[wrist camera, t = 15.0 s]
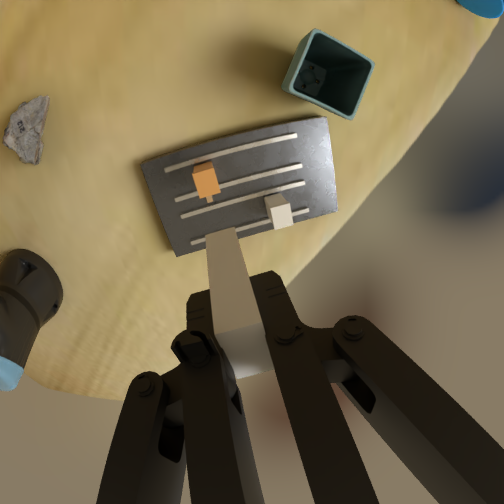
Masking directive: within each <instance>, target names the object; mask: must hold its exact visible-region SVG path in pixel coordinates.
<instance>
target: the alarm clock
mask: <svg viewBox="0 0 504 504" xmlns="http://www.w3.org/2000/svg"><path fill="white" fill-rule="evenodd" d="M456 1H457V2H458V3H460V4H461V5H462V6H463V7H465V8H466V9H467V10H469V11H471V12H472V13H474V14H476V15H479V16H481V17H485V18H497V17H499V16H501V15H502V13H503V11H504V0H456Z"/></svg>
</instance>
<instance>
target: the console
mask: <svg viewBox="0 0 504 504" xmlns="http://www.w3.org/2000/svg"><path fill="white" fill-rule="evenodd" d="M210 161H212V165H213V167H214V170H215V174H216V177H217V181H218V184H219V188H220V191H221V193H217V194H214V195H211V196H207V197H204V198H201V199H200V197H199V194H198V191H197V188H196V185H195V182H194V179H193V175H192V173H193V171H194V166H196V165H200V164H203V163H206V162H210ZM141 168H142V171H143V174H144V176H145V179H146V182H147V185H148V187H149V190H150V193H151V195H152V198H153V201H154V203H155V206H156V208H157V211H158V214H159V216H160V219H161V221H162V224H163V226H164V229H165V231H166V233H167V236H168V238H169V241H170V243H171V246H172V248H173V250H174V253H175V255H176V257H178V256H182V255H185V254H188V253H192V252H195V251H199V250H202V249H205V248H206V238H205V235H207V234H210V233H214V232H217V231H221V230H224V229H228V228H231V227H235V230H236V234H237V237H238V239H240V238H243V237H247V236H250V235H254V234H257V233H261V232H264V231H268V230H271V229H274V227H273V224H272V222H271V220H270V219H269V217H268V214H267V210H266V205H265V200H264V197H266V196H270V195H274V194H278V193H281V195H282V196H283V197H284V198H285V199H286V201H287V202H289V203H290V207H291V213H292V219H293V223H296V222H300V221H304V220H307V219H311V218H314V217H318V216H322V215H325V214H329V213H333V212H336V211H338V206H337V194H336V184H335V175H334V166H333V158H332V150H331V143H330V136H329V129H328V123H327V117H325V116H315V117H309V118H303V119H297V120H292V121H287V122H282V123H277V124H272V125H267V126H263V127H258V128H254V129H249V130H245V131H241V132H237V133H233V134H229V135H226V136H222V137H218V138H215V139H211V140H207V141H204V142H201V143H197V144H194V145H191V146H187V147H184V148H181V149H178V150H175V151H172V152H169V153H166V154H163V155H160V156H157V157H155V158H152V159H149V160H146V161H144V162H142V164H141Z"/></svg>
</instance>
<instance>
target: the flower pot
mask: <svg viewBox="0 0 504 504" xmlns="http://www.w3.org/2000/svg"><path fill="white" fill-rule="evenodd" d="M310 66H312V67H313V69H310ZM374 66H375V63H374V62H373V61H372V60H371V59H370V58H368V57H366V56H365V55H363V54H361V53H360V52H358V51H356V50H355V49H353V48H351V47H350V46H348V45H346V44H344V43H343V42H341V41H339V40H337V39H336V38H334V37H332V36H330V35H328V34H327V33H325V32H323V31H321V30H319V29H313V30H312V31H311V32H309V33H308V34H307V35H306V36H305V37H304V38H303V39H302V40H301V41H300V43H299V45H298V47H297V50H296V52H295V54H294V57H293V59H292V62H291V64H290V66H289V69H288V71H287V74H286V76H285V78H284V80H283V83H282V85H281V88H282V90H283V91H285V92H287V93H290V94H292V95H295V96H297V97H299V98H302V99H304V100H306V101H309V102H311V103H313V104H315V105H317V106H319V107H321V108H323V109H326V110H327V111H329V112H331V113H334V114H336V115H338V116H341V117H343V118H345V119H348V120H353V119H354V117H355V115H356V112H357V109H358V107H359V104H360V102H361V99H362V97H363V94H364V92H365V89H366V87H367V84H368V82H369V80H370V77H371V74H372V72H373V69H374ZM298 72H299V73H298ZM316 80H318V81H319V82H318V83H316ZM302 85H305V88H302Z"/></svg>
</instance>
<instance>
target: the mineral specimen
mask: <svg viewBox="0 0 504 504" xmlns="http://www.w3.org/2000/svg"><path fill="white" fill-rule="evenodd" d="M48 108H49V97H48V96H44V97H43V96H41V95H40V96H39V97H37V98H34V99H33V100H31V101H30V102H28V103H26V102H23V103H22V104H21V105H20V106H19V107H18V110H17V111H16V112H14V113H13V114H12V115H11V116H10V122H9V123H8V125H7V128H6V129H5V131H4V136H3V144H4V145H5V146H7V147H8V148H9V149H12V150H14V151H15V152H16V153H17V154H18V156H19V157H20V161H21V162H23V163H27V162H28V163H32V164H34V165H37V164H39V162H40V157H41V154H42V149H43V147H44V144H43V143H42V141H41V136H42V134H43V130H44V125H45V120H46V116H47V112H48Z"/></svg>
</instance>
